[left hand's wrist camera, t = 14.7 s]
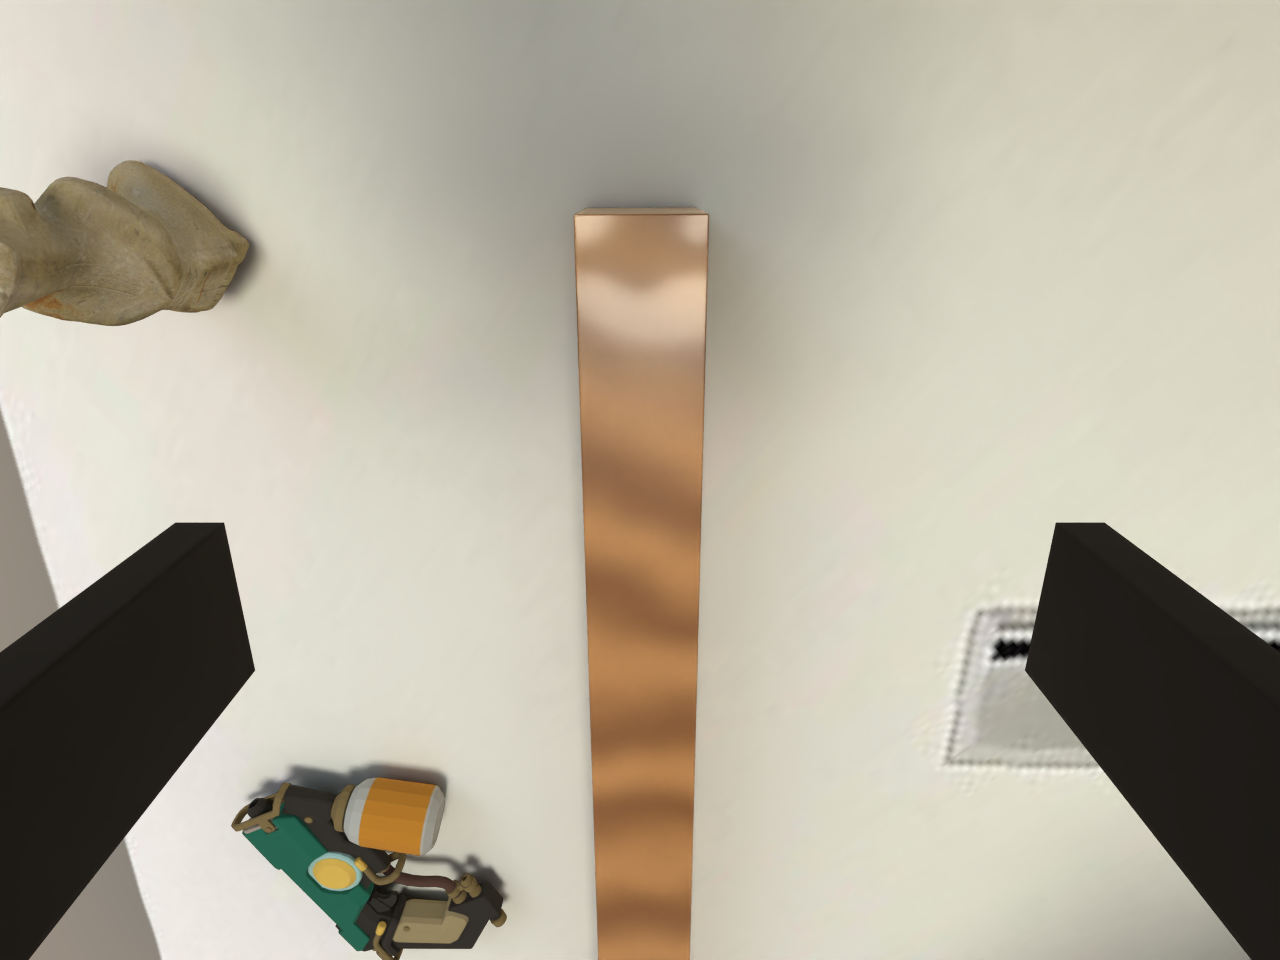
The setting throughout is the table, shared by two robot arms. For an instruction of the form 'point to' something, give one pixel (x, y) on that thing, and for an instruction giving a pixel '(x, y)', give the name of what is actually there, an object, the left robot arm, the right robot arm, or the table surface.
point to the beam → (642, 559)
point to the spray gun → (370, 863)
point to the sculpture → (113, 249)
